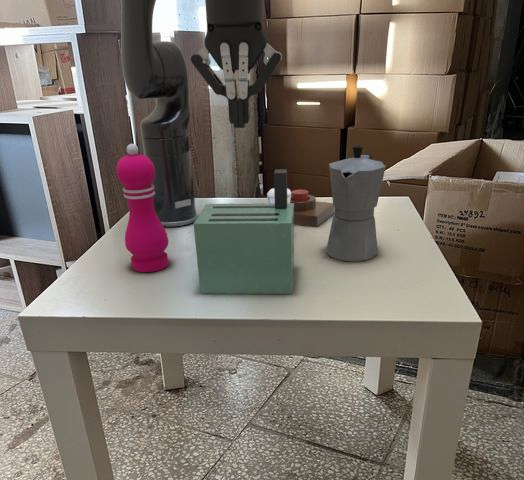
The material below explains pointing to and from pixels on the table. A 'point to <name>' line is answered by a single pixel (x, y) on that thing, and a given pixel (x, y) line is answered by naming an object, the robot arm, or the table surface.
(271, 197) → the milkshake
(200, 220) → the toaster
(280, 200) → the dark grey upright bar
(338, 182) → the coffeepot
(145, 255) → the pepper mill
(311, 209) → the block
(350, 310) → the table surface
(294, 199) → the button
